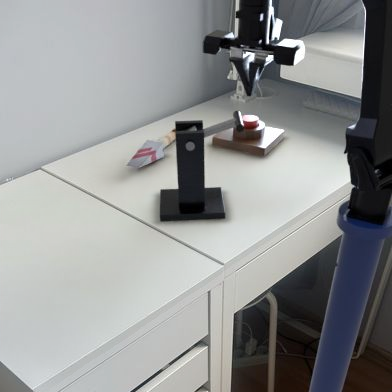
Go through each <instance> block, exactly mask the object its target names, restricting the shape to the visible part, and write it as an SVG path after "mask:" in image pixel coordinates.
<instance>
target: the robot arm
mask: <svg viewBox="0 0 392 392" xmlns="http://www.w3.org/2000/svg"><path fill="white" fill-rule="evenodd" d="M361 3H362V6H363V8H364V13H365V15H364V33H363V52H362V54H363V55H362V69H361V90H360V108H359V109H360V110H359V116H358V119H357V120H356V123H354V124H353V125H351V126H348V127H347V128H346V129H345V148H344V150H343V154H344V155H346V161H347V162H346V163H347V165H348V166H349V176H350V177H349V179H350V184H351V185H352V187H351V190H350V196H349V199H348V200H349V204H348V209H350V210H349V212H348V213H347V217H349V218H353V219H357V220H361V221H365V222H369V223H373V224H377V225H383V224H384V222H385V221H386V219H387V217H388V215H389V214H390V212H391V210H392V207H391V205H392V0H361ZM274 8H275V7H274V6H272V0H238V10H236V11H235V19H237V20H238V22H237V36H236V37H235V35H234V33H233V31H230V30H229V31H228V30H220V29H215V30H213V31H212V32H209V33H208V34H206V35H205V36H204V38H203V39H202V45H201V46H202V53H203V54H206V55H213V56H217V55H218V53H219V52H221V49H222V50H230V57H229V58H228V62H229V63H233V66H234V68H235V70H236V72H237V74H238V76H239V79H240V81H241V83H242V86H243V89H244V91H245V94H246V97H249V98H251V97H253V96H254V94H255V91H256V88H257V86H258V83H259V80H260V77H261V76H262V73H263V72H264V69H265V67H266V66H267V65H268V64H270V63H271V62H272V61H273V62H274V63H275V65H279V66H280V65H281V66H287V67H295V66H296V64H298V63H299V62H300V61H301V60H303V59H305V53H306V46H305V44H304V41H303V40H298V39H290V38H284V39H282V40H281V41H280V42H278V43H270V41H279V39H280V36H281V35H280V34H281V29H282V25H283V20H281V19H279V18H277V17H275V15H274V14H275V9H274Z"/></svg>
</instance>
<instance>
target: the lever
mask: <svg viewBox="0 0 392 392" xmlns="http://www.w3.org/2000/svg"><path fill="white" fill-rule="evenodd" d="M232 117H233V118H230V119H228V120H225V121H222V122H219V123H216V124H214V125H210V126H207V127H205V128H203V129H202V130H204V139H205V138H208V137H210V136H211V137H212V136H214V135H215V134H217V133H219V132H222V131H225V130H228V129H231V128H234V127H236V130H237V131H238V132H242V131H243V130H244V125H243V121H242V118H241V117H242V114H241V112H240V111H239V110H235V111H234V112H233V113H232ZM181 131H197V129H196V126H193V127H190V128H187V129H184V130H181Z"/></svg>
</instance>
